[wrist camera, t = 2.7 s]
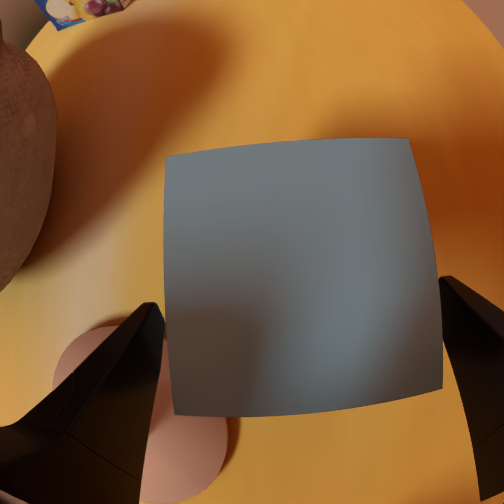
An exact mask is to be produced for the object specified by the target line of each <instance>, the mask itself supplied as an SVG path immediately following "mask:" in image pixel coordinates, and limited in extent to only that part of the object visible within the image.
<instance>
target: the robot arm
mask: <svg viewBox="0 0 504 504" xmlns="http://www.w3.org/2000/svg"><path fill="white" fill-rule="evenodd" d="M438 282H439V291H440V302H441V316H442V336H443V341H444V344H445V347H446V350H447V353H448V356H449V359H450V362H451V365H452V369H453V372H454V375H455V378H456V382H457V385H458V389H459V392H460V396H461V399H462V403H463V407H464V411H465V415H466V419H467V423H468V428H469V432H470V437H471V442H472V447H473V453H474V459H475V465H476V471H477V478H478V485H479V494H480V500H481V501H484V500H486V499H488V498H491V497H493V496H495V495H497V494H499V493H502V492H504V311H502V310H501V309H499V308H498V307H497V306H495V305H494V304H492V303H491V302H490V301H488V300H487V299H485V298H484V297H482V296H481V295H479V294H478V293H476V292H475V291H474V290H472V289H471V288H469V287H468V286H466V285H465V284H463V283H462V282H460V281H459V280H457V279H455V278H454V277H452V276H450V275H448V276H442V277H440V278H439V279H438ZM164 331H165V322H164V318H163V316H162V314H161V312H160V309H159V307H158V305H157V304H156V303H155V302H145V303H143V304H141V305H140V306H139V307H138V308H137V309H136V310H135V311H134V312H133V313H132V314H131V315H130V316H129V317H128V318H127V319H126V320H125V321H123V322H122V323H121V324H120V325H119V326H118V327H117V328H116V329H115V330H114V331H113V332H112V333H111V334H110V335H109V336H108V337H107V338H106V339H105V340H104V341H103V342H102V343H101V344H100V345H99V346H98V347H97V348H96V349H95V350H94V351H93V352H92V353H91V354H90V355H89V356H88V357H87V358H86V359H85V360H84V361H83V362H82V363H81V364H80V365H79V366H78V367H77V368H76V369H75V370H74V371H73V372H72V373H70V375H69V376H68V377H67V378H66V379H65V380H64V381H63V382H61V383H60V384H59V385H58V386H57V387H56V388H55V389H54V390H53V391H52V392H51V393H50V394H49V395H48V396H46V397H45V398H44V399H43V400H42V401H41V402H40V403H38V404H37V405H36V406H35V407H34V408H33V409H32V410H30V411H29V412H28V413H27V414H26V415H25V416H24V417H22V418H21V419H20V420H19V421H17V422H15V423H13V424H11V425H8V426H3V427H0V504H139V499H140V491H141V483H142V482H141V481H142V475H143V468H144V461H145V454H146V448H147V441H148V435H149V429H150V423H151V418H152V412H153V407H154V401H155V396H156V391H157V386H158V380H159V375H160V370H161V362H162V351H163V341H164ZM503 504H504V503H503Z"/></svg>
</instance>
